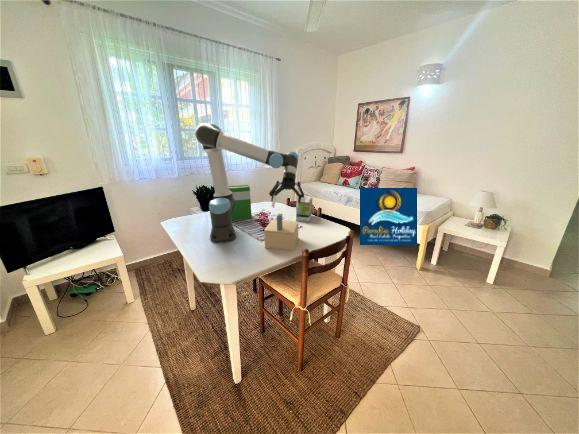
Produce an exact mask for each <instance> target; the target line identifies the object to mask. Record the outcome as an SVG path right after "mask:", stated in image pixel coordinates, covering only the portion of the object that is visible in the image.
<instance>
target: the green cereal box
mask: <svg viewBox="0 0 579 434" xmlns="http://www.w3.org/2000/svg"><path fill="white" fill-rule="evenodd" d="M228 186H229V190H230V191H231V192H232V194H233V198H234V199H235V208H234V210H233V211H232V213H231V218H232V222H233V221H241V220H242V221H243V220H250V219H252V218H253V217H252V201H251V189H250V185H249V184H244V185H243V184H239V185H228Z"/></svg>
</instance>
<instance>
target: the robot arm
mask: <svg viewBox="0 0 579 434" xmlns="http://www.w3.org/2000/svg"><path fill="white" fill-rule="evenodd" d="M194 134H195V138H196V140H197V142H199V144H201V145H202V150H203V151H204V152H205V153H206V155H207V159H208V160H207V161H208V165H209V170H210V174H211V177H212V178H211V179H212V184H213V188H214V194H213V199H211V200H210V201H209V203H208V209H209V215H210V221H211V222H210V223H211V230H210V235H209V238H210V241H211V242H212V243H216V244H224V243H229V242H232V241H234V240H235V239H236V238H237V232H236V230H235V227H234V225H233V221H232V218H231V213H232V211H233V210H234V208H235V199H234V198H233V194H232V192H231V191H230V190H229V186H230V185H229V182H228V176H227V171H226V166H225V160H224V156H223V150H224V151H227V152H231V153H234V154H236V155H239V156H241V157H245V158H248V159H250V160H253V161H257V162H259V163H262V164H265V165H267V166H269V167H271V168H273V169H279V168H281V167H283V168H284V169H283V174H282V175H283V176H282V180H281V181H279V180H276V183H275V184H274V186H273V187H272V189H271V190H270V191H269V193H268V194H269V197H271V207H272V208H273V209H274V208H275V205H276V199H277V198H276V196H278V195H279V194H280V193H281V192H283V191H284V190H285V191H287V190H292V191H293V192H294V194H295V195H296V202H295V203H296V204H295V207H296V209H298V204H299V203H300V202H301V198H302V197H303V198H304V197H305V193H304V191H303V188H302V187H301V182H300V181H297V182H296V179H297V177H296V176H297V172H298V171H297V170H298V163H299V155H298V153H297V152H295V151H288V152H287V153H286V154H285V153H281V152H278V151H274V150H269V149H266V148H262V147H260V146H257V145H255V144H253V143H249V142H247V141H244V140H242V139H239V138H236V137H233V136H230V135H228V134H225V133H224V132H223V130H222V129H221V128H220V127H219V126H218V125H216V124H213V123H206V122H204V123H201V124H199V125H198V126H197V127H196V129H195V133H194ZM295 186H296V187H298V190H299V191H298V190H297V188H296V187H295Z"/></svg>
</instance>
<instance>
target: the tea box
mask: <svg viewBox="0 0 579 434" xmlns="http://www.w3.org/2000/svg"><path fill="white" fill-rule="evenodd" d="M312 210H313V197H309V196H304V198H303V197H302V198H301V202H300V203H299V204H298V209H296V215H295V221H297V222H305V223H307V222H308V223H309V222H310V220H311V218H312V214H313V213H312V212H313V211H312Z"/></svg>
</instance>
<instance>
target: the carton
mask: <svg viewBox="0 0 579 434" xmlns="http://www.w3.org/2000/svg"><path fill="white" fill-rule="evenodd" d="M263 235H264V237H263V239H264V248H265V249H275V250H283V251H284V250H285V251H294V250H295V247H296V245H297V242H298V239H299V224H298V225H297V227H296V229H295V231H294V234H290V233H277V232H264V231H263Z"/></svg>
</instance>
